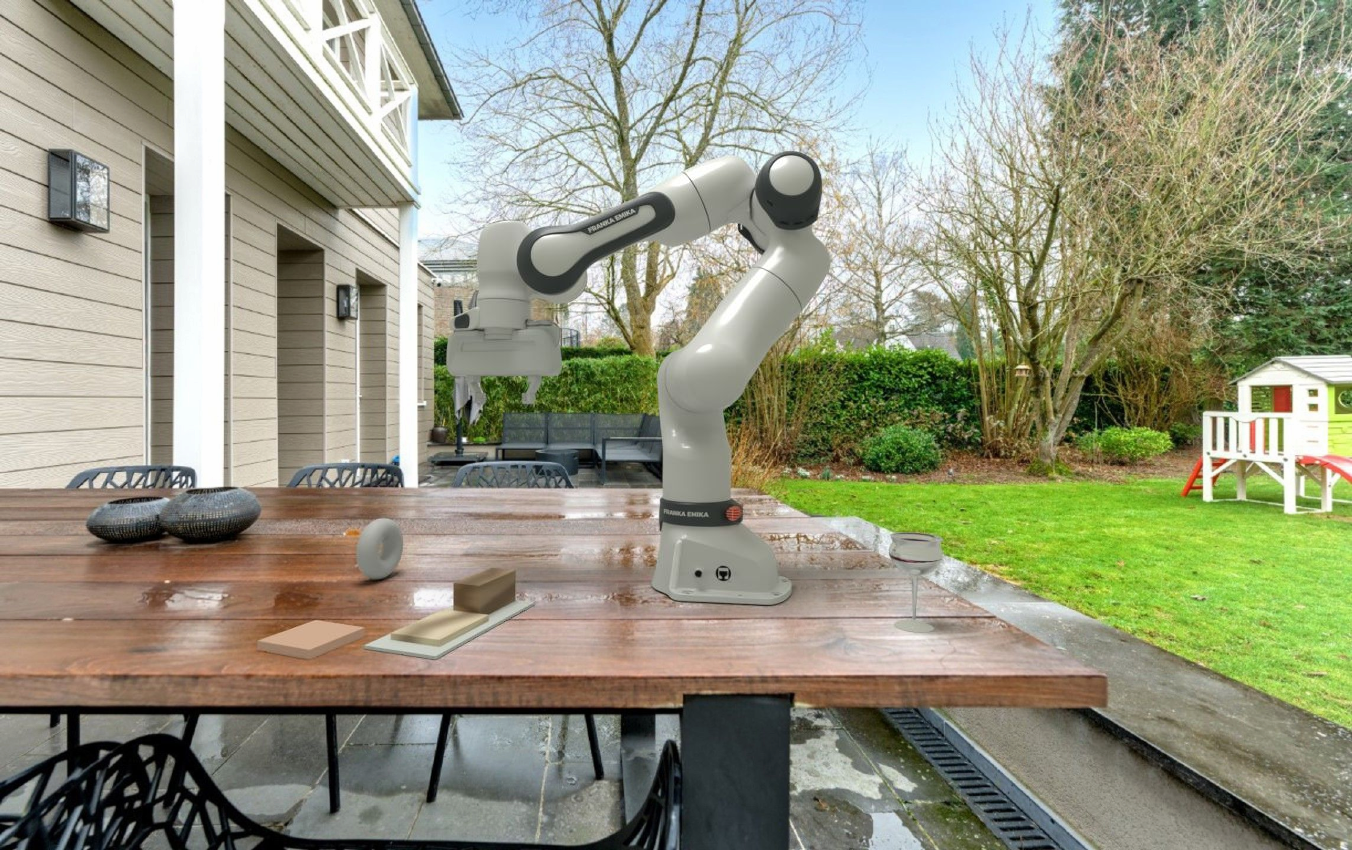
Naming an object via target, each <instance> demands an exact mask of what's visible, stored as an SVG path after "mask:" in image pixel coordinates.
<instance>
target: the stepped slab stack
mask: <svg viewBox="0 0 1352 850" xmlns="http://www.w3.org/2000/svg"><path fill="white" fill-rule="evenodd" d="M516 572H517V570H516V569H507V568H498V567H490V568H488V569H485V570H482V571H480V572H477V573H475V574H473V575H470V576H467V577H465V578H462V579H461V580H457V581H455V582H453V588H452V589H453V590H452V591H453V593H452V594H453V596H452V597H453V600H452V601H453V605H452V606H453V610H446V608H444V609H441V610H439V611H436V612H435V613H433V614H430V615H428V616H426V617H423V618H421V619H419V620H417V621H414V622H412V623H411V624H408V625H406V626H403V627H401V628H398V629H397V630H394V631H392V632H390V634H391V640H396V641H403V642H410V643H417V644H424V645H431V646H437V647H440V646H442V645H444V644H446V643H448V642H450V641H451V640H453V639H455V638H457V637H459V636H461V635H463V634H465V633H467V632H468V631H470V630H472V629H474V628H476V627H478V626H480V625H482V624H484V623H486V622H487V621H489V614H491V613H493V612H495V611H497V610H499V609H500V608H502V607H504V606H506V605H508V604H510V603H512V602H514V601H515V600H516V595H517V594H516V587H517V585H516V581H517V579H516V578H517V577H516Z"/></svg>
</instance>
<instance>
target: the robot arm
mask: <svg viewBox="0 0 1352 850" xmlns="http://www.w3.org/2000/svg"><path fill="white" fill-rule="evenodd" d="M822 196H823V179H822V174H821V170H820V167H819V166H818V164H817V163H816V161H815V160H814V159H812V158H811V156H809V155H807V154H805V153H803V152H800V151H795V150H788V151H787V150H786V151H781V152H779V153H776V154H774V155H773V156H771V157H770V158H768V160H766V162H764V165H763V166H762V167H761V169H760V170H759V173H758V175H757V174H756V173H754V171H753V169H752V167H751V166H750V165H749V164H748V163H747V161H745V160H744V159H743V158H742V157H740V156H737V155H734V154H727V155H723V156H719V157H717V158H713V159H709V160H706V161H703V162H701V163H698V164H696V165H693V166H691V167H689V168H687V169H684V170H682V171H681V172H679V173H676V174H675V175H673V176H671V177H669V178H666V179H665V180H664V181H662V182H660V183H658V184H657V185H655V186H653V187H652V188H650V189H649V190H647V191H645V192H643V193H642V194H640V195H638V196H636V197H635V198H632V199H629V200H628V201H625V202H622V203H621V204H619V205H616V206H614V207H612V208H611V207H610V208H609V209H607V210H605V211H602V212H600V213H598V214H595V215H593V216H590V217H588V218H586V219H584V220H581V221H578V222H576V223H572V224H566V225H563V224H562V225H546V226H541V227H538V228H535V229H533V228H531V227H530V226H529V225H527V224H526V223H525V222H524V221H521V220H518V219H517V220H514V219H502V220H496V221H494V222H491V223H489V224H487V225H486V226H484V227H483V228H482V230H481V232H480V235H479V239H478V244H477V255H476V256H477V257H476V279H477V281H478V293H477V295H476V306H475V307H472V308H471V309H469V310H467V311H464V312H462V313H459V314H457V315H455V316H453V317H451V318H450V319H449V328H450V330H451V331H453V332H452V333H451V334H450V335H449V337H448V339H447V343H446V344H447V346H446V369H447V371H448V373H449V374H450V376H452V377H465V378H466V381H465V382H466V384H467V386H468V388H469V390H470V391H471V394H472V396H471V397H472V403H473V404H486V403H487V401H486V400H487V399H486V397H487V393H486V392H482V390H481V388H480V387H481V386H479V385H480V383H481V382H482V381H481V379H482V377H527V383H529V386H528V388H527V390H526V392H522V393H521V403H522V404H523V405H534V404H535V402H536V394H537V391H538V390H539V388H540V387H541V385H542V383H543V382H542V377H558V376H559V375H560V373H561V372H562V369H563V367H562V366H563V362H562V351H561V345H560V341H561V327H560V326H559V324H558V323H556V322H555V321H553V320H552V319H550V318H545V319H532V301H533V299H537V300H541V301H546V302H549V303H551V304H552V303H553V304H556V305H557V304H568V303H571V302H573V301H575V300H576V299H578V298H580V296H581V295H582V294H583V293H584V291H585V290H586V287H587V284H588V270H589V268H590V267H591V266H592V265H594V264H596V263H598V262H600V261H601V260H604V259H607V258H608V257H611V256H612V255H614V254H617V253H619V252H621V251H623V250H625V249H628V248H630V247H632V246H634V245H636V244H641V243H644V242H645V243H646V242H653V243H658V244H660V245H663V246H664V247H665V246H666V247H670V248H675V247H679V246H682V245H686V244H689V243H691V242H695V241H697V240H699V239H701V238H704V237H706V236H707V235H709V234H711V233H713V232H715V231H717V230H719V229H720V228H722V227H725V226H728V225H730V224H737V231H738V233H739V235H741V236H742V237H743V238H744V239H745V240H747V242H749V244H750V245H751V246H752V247H753V249H754V250H755V251H756V253H758V254H760V255H761V256H760V257H759V258H758V259H757V261H755V263H754V264H753V265H752V266H751V267H750V268H749V270H747V272H746V273H745V274H744V275H743V276H742V277H741V278H740V280H738V282H737V283H736V284H735V285H734V286H733V287H732V288H731V289H730V291H729V292H728V293H727V294H726V295H725V296H724V298H723V299H722V300H721V301H720V302H719V303H718V305H717V307H716V308H715V310H714V311H713V313H712V314H711V315H710V316H709V317H708V319H707V320H706V322H705V323H704V325H703V326H702V327H701V328H700V330H699V331H698V332H697V334H696V335H695V336H694V337H693V338H692V339H691V341H690V342H689V343H687V344H686V345H685V346H683V347H682V348H679V349H676V350H674V351H672V352H670V353H668V355H666V357H665V358H664V359H663V360H662V362H661V364H660V365H659V368H658V370H657V371H658V372H657V375H656V376H657V377H656V385H657V386H656V387H657V399H658V412H659V424H660V432H661V442H662V496H661V497H660V499H659V508H658V525H659V526H658V527H659V532H660V537H659V538H660V539H659V540H660V541H659V547H658V555H657V561H656V565H655V570H654V573H653V576H652V579H651V583H650V584H651V586H652V588H654V589H655V590H656V591H659V592H661V593H663V594H665V595H668V597H669V598H670V599H672V600H674V601H678V602H679V601H680V602H700V603H702V602H703V603H704V602H705V603H720V604H721V603H722V604H743V605H744V604H746V605H747V604H748V605H765V606H766V605H767V606H769V605H776V604H780V603H781V602H784V601H786V600H787V599H789V597H790V596H791V595H792V592H793V584H792V582H791V580H790V579H789V578H787V577H785V576H782V575H779V568H778V561H777V557H776V553H775V551H774V549H773V547H771V545H770V544H768V543H767V542H766V541H764V540H763V539H762V538H761V537H759V536H758V535H757V534H756V533H755V532H753V531H752V530H751V529H750V528H749V527H748V526H746V525H745V524H744V523H743V522H744V520H743V519H744V510H745V508H744V507H745V505H744V503H743V502H741V503H739V502H738V501H736V500H734V499H733V498H732V496H731V495H732V493H731V492H732V447H731V444H730V442H729V439H728V435H727V428H726V422H725V415H724V410H725V409H727V408H728V407H730V406H731V405H733V404H734V403H735V402H737V400H738V399H739V398H740V397H741V396H742V395H743V394H744V391H745V390H746V387H747V384H748V383H749V382H750V380H751V378H752V377H753V376H754V374H755V373H756V371H757V370H758V368H759V366H760V365H761V363H762V361H763V360H764V358H765V356H766V355H767V354H768V353H769V351H770V350H771V348H772V347H773V346H774V344H776V342H777V341H778V340H779V339H780V338H781V336H782V335H783V334H784V333H785V331H787V329H788V328H789V327H790V326H791V325H792V323H793V322H794V321H795V320H796V319H797V317H798V316H799V315H800V314H801V313H802V312H803V311H804V310H805V308H806V307H807V306H808V304H810V302H811V301H812V299H813V298H814V296H815V295H816V293H817V292H818V290H819V289H820V287H821V285H823V282H824V280H825V279H826V277H827V275H828V273H829V271H830V269H831V268H830V267H831V261H832V260H831V256H830V253H829V251H828V249H827V247H826V246H825V244H824V243H823V241H821V239H819V238H817V236H816V235H815V234H814V231H813V224H815V222H817V221H818V218H819V212H820V206H821V201H822Z"/></svg>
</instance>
